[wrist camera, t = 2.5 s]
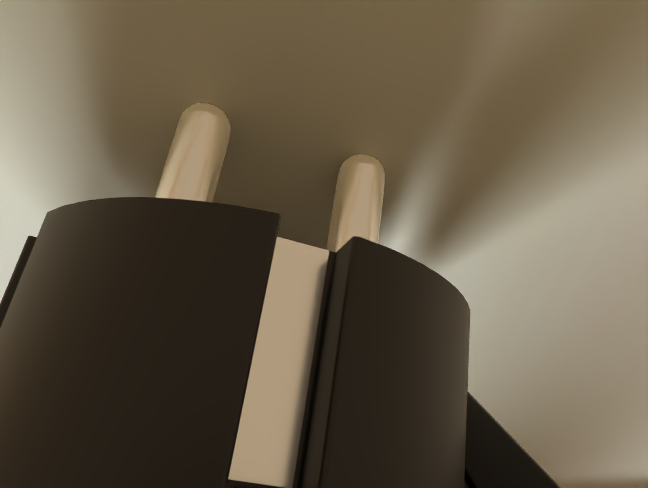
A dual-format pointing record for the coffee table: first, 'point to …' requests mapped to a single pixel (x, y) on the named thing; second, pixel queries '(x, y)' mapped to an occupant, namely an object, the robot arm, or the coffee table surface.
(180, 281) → the power plug
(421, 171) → the coffee table surface
